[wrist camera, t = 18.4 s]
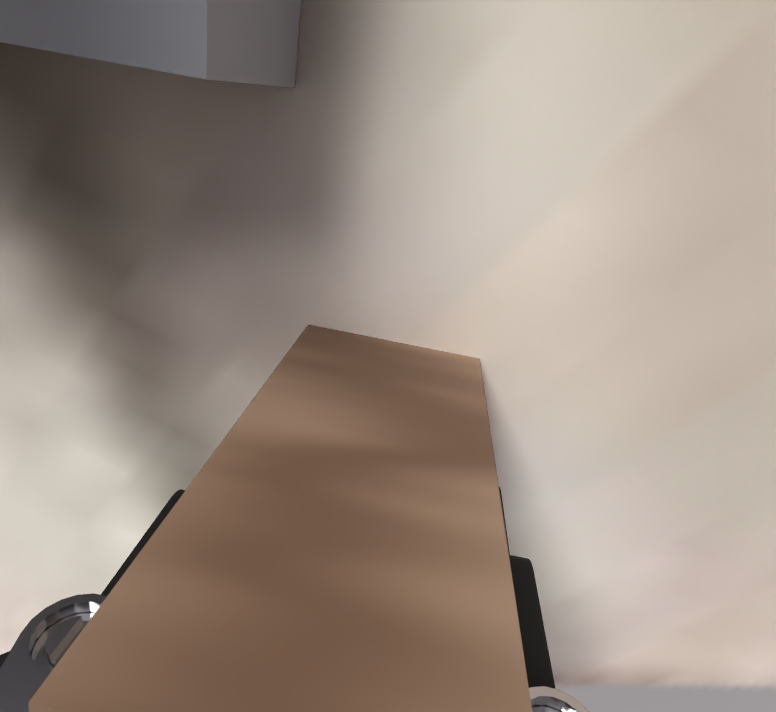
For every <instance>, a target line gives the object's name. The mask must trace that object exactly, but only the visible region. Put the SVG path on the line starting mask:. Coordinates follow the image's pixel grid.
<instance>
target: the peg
mask: <svg viewBox="0 0 776 712" xmlns="http://www.w3.org/2000/svg"><path fill="white" fill-rule="evenodd" d="M28 706H29V712H532V707H531V700H530V693H529V687H528V680H527V673H526V667H525V660H524V653H523V647H522V640H521V633H520V627H519V620H518V613H517V606H516V600H515V593H514V586H513V580H512V573H511V566H510V560H509V553H508V546H507V540H506V533H505V526H504V520H503V513H502V506H501V499H500V493H499V486H498V479H497V473H496V466H495V459H494V453H493V446H492V439H491V433H490V426H489V419H488V412H487V406H486V399H485V392H484V386H483V379H482V372H481V366H480V359H478V358H473V357H468V356H463V355H458V354H453V353H448V352H443V351H438V350H433V349H428V348H423V347H418V346H413V345H408V344H403V343H398V342H393V341H388V340H383V339H378V338H373V337H368V336H363V335H358V334H353V333H348V332H342V331H337V330H332V329H327V328H322V327H317V326H312V325H308V326H307V327H306V329H305V330H304V331H303V333H302V334H301V335H300V337H299V338H298V339H297V341H296V342H295V343H294V345H293V346H292V347H291V349H290V350H289V352H288V353H287V354H286V356H285V357H284V358H283V360H282V361H281V362H280V364H279V365H278V366H277V368H276V369H275V370H274V372H273V373H272V374H271V376H270V377H269V379H268V380H267V381H266V383H265V384H264V385H263V387H262V388H261V389H260V391H259V392H258V393H257V395H256V396H255V397H254V399H253V400H252V401H251V403H250V404H249V406H248V407H247V408H246V410H245V411H244V412H243V414H242V415H241V416H240V418H239V419H238V420H237V422H236V423H235V424H234V426H233V427H232V428H231V430H230V431H229V433H228V434H227V435H226V437H225V438H224V439H223V441H222V442H221V443H220V445H219V446H218V447H217V449H216V450H215V451H214V453H213V454H212V455H211V457H210V458H209V460H208V461H207V462H206V464H205V465H204V466H203V468H202V469H201V470H200V472H199V473H198V474H197V476H196V477H195V478H194V480H193V481H192V482H191V484H190V485H189V487H188V488H187V489H186V491H185V492H184V493H183V495H182V496H181V497H180V499H179V500H178V501H177V503H176V504H175V505H174V507H173V508H172V509H171V511H170V512H169V514H168V515H167V516H166V518H165V519H164V520H163V522H162V523H161V524H160V526H159V527H158V528H157V530H156V531H155V532H154V534H153V535H152V536H151V538H150V539H149V541H148V542H147V543H146V545H145V546H144V547H143V549H142V550H141V551H140V553H139V554H138V555H137V557H136V558H135V559H134V561H133V562H132V563H131V565H130V566H129V567H128V569H127V570H126V572H125V573H124V574H123V576H122V577H121V578H120V580H119V581H118V582H117V584H116V585H115V586H114V588H113V589H112V590H111V592H110V593H109V594H108V596H107V597H106V599H105V600H104V601H103V603H102V604H101V605H100V607H99V608H98V609H97V611H96V612H95V613H94V615H93V616H92V617H91V619H90V620H89V621H88V623H87V624H86V626H85V627H84V628H83V630H82V631H81V632H80V634H79V635H78V636H77V638H76V639H75V640H74V642H73V643H72V644H71V646H70V647H69V648H68V650H67V651H66V653H65V654H64V655H63V657H62V658H61V659H60V661H59V662H58V663H57V665H56V666H55V667H54V669H53V670H52V671H51V673H50V674H49V675H48V677H47V678H46V680H45V681H44V682H43V684H42V685H41V686H40V688H39V689H38V690H37V692H36V693H35V694H34V696H33V697H32V698H31V700H30V701H29V702H28Z"/></svg>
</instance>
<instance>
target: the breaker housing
mask: <svg viewBox="0 0 776 712" xmlns="http://www.w3.org/2000/svg"><path fill="white" fill-rule="evenodd" d="M300 13H301V0H0V42H2V43H7V44H13V45H18V46H24V47H29V48H35V49H40V50H46V51H51V52H57V53H62V54H68V55H73V56H79V57H84V58H90V59H95V60H101V61H106V62H112V63H117V64H123V65H128V66H134V67H139V68H145V69H150V70H156V71H161V72H167V73H172V74H178V75H183V76H189V77H194V78H200V79H205V80H215V81H226V82H237V83H247V84H258V85H269V86H280V87H290V88H295V79H296V66H297V53H298V39H299V26H300Z"/></svg>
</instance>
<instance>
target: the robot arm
mask: <svg viewBox="0 0 776 712" xmlns="http://www.w3.org/2000/svg"><path fill="white" fill-rule="evenodd" d="M185 491H186V490H181V489H180V490H178V491H176V493H175V494H174V495H173V496H172V497H171V498H170V500H169V501H168V503H167V504H166V505H165V507H164V508H163V510H162V511H161V512H160V514H159V515H158V516H157V518H156V519H155V521H154V522H153V523H152V525H151V526H150V527H149V529H148V530H147V532H146V533H145V534H144V536H143V537H142V539H141V540H140V541H139V543H138V544H137V545H136V547H135V548H134V550H133V551H132V552H131V554H130V555H129V557H128V558H127V559H126V561H125V562H124V563H123V565H122V566H121V568H120V569H119V570H118V572H117V573H116V574H115V576H114V577H113V579H112V580H111V581H110V583H109V584H108V586H107V587H106V588H105V590H104V591H103V592H102V594H101V595H98V594H83V595H76V596H72V597H69V598H66V599H62V600H60V601H58V602H56V603H54V604H52V605H51V606H49V607H47V608H45V609H44V610H43V611H41V612H40V613H39V614H38V615H36V616H35V617H34V618H33V619H32V620H31V621H30V622H29V623H28V625H27V626H26V627H25V628H24V630H23V631H22V632H21V634H20V636H19V637H18V639H17V641H16V642H15V644H14V646H13V647H12V649H11V651H9V652H7V653H4V654H2V655H0V712H29V706H28V702H29V701H30V700H31V698H32V697H33V696H34V694H35V693H36V692H37V690H38V689H39V688H40V686H41V685H42V684H43V682H44V681H45V680H46V678H47V677H48V675H49V674H50V673H51V671H52V670H53V669H54V667H55V666H56V665H57V663H58V662H59V661H60V659H61V658H62V657H63V655H64V654H65V653H66V651H67V650H68V648H69V647H70V646H71V644H72V643H73V642H74V640H75V639H76V638H77V636H78V635H79V634H80V632H81V631H82V630H83V628H84V627H85V626H86V624H87V623H88V621H89V620H90V619H91V617H92V616H93V615H94V613H95V612H96V611H97V609H98V608H99V607H100V605H101V604H102V603H103V601H104V600H105V599H106V597H107V596H108V594H109V593H110V592H111V590H112V589H113V588H114V586H115V585H116V584H117V582H118V581H119V580H120V578H121V577H122V576H123V574H124V573H125V572H126V570H127V569H128V567H129V566H130V565H131V563H132V562H133V561H134V559H135V558H136V557H137V555H138V554H139V553H140V551H141V550H142V549H143V547H144V546H145V545H146V543H147V542H148V541H149V539H150V538H151V536H152V535H153V534H154V532H155V531H156V530H157V528H158V527H159V526H160V524H161V523H162V522H163V520H164V519H165V518H166V516H167V515H168V514H169V512H170V511H171V509H172V508H173V507H174V505H175V504H176V503H177V501H178V500H179V499H180V497H181V496H182V495H183V493H184V492H185ZM499 493H500V499H501V506H502V513H503V520H504V526H505V533H506V540H507V546H508V539H507V532H506V525H505V518H504V510H503V503H502V496H501V490H500V487H499ZM508 553H509V547H508ZM509 560H510V566H511V573H512V580H513V586H514V593H515V600H516V606H517V613H518V620H519V627H520V633H521V640H522V647H523V653H524V660H525V667H526V673H527V680H528V687H529V693H530V700H531V707H532V712H589V711H588V710H587V709H586V708H585V707H584V706H583V705H582V704H580V703H579V702H578V701H577V700H576V699H575V698H573V697H572V696H570V695H568V694H566V693H564V692H562V691H560V690H558V689H555V685H554V679H553V674H552V668H551V663H550V658H549V652H548V647H547V641H546V636H545V631H544V625H543V620H542V614H541V609H540V604H539V598H538V593H537V587H536V582H535V576H534V571H533V567H532V563H531V561H530V560H529V559H526V558H521V557H516V556H511V555H510V554H509Z"/></svg>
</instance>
